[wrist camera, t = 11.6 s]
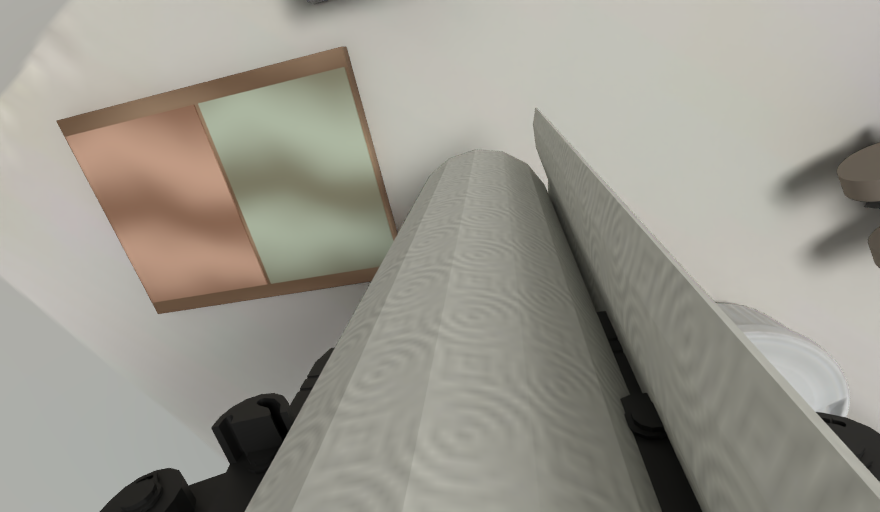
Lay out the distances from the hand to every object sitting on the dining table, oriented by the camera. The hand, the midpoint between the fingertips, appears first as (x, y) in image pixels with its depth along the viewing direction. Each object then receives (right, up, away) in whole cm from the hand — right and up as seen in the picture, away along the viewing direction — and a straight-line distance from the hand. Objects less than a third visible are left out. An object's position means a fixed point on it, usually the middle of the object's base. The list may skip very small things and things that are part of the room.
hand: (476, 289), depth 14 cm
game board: (-14, +5, +16) cm, 22 cm away
